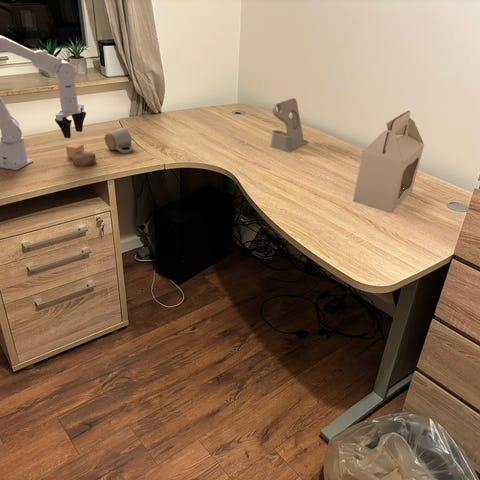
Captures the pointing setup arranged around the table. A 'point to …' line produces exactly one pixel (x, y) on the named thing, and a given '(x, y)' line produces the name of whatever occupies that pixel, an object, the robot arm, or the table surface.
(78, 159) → the pedestal
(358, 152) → the table surface
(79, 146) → the cube
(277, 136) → the phone holder
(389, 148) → the gable box
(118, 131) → the ceramic mug
